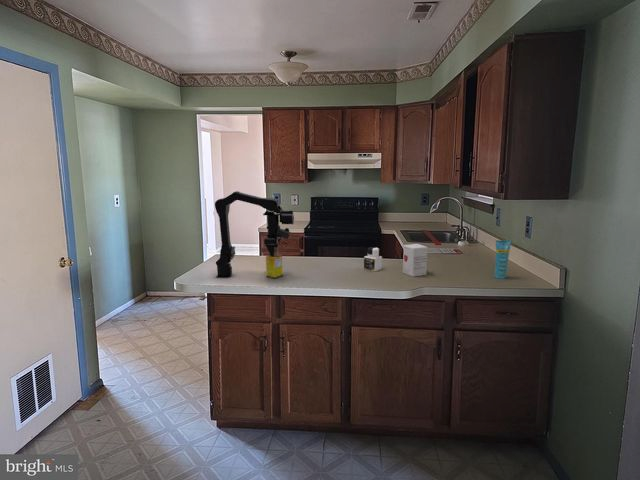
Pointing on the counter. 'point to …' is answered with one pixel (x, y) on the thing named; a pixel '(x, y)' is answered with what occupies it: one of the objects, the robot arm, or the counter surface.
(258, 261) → the counter surface
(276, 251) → the walnut cube
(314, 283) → the counter surface
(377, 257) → the medicine bottle
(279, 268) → the supplement box
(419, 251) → the supplement box
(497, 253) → the tube
